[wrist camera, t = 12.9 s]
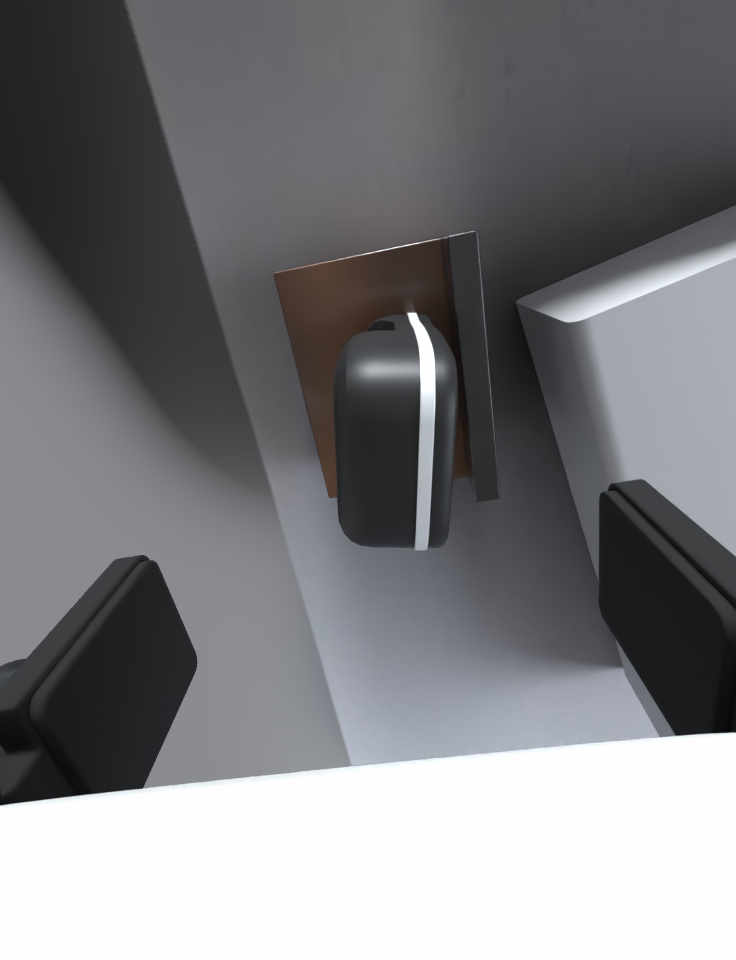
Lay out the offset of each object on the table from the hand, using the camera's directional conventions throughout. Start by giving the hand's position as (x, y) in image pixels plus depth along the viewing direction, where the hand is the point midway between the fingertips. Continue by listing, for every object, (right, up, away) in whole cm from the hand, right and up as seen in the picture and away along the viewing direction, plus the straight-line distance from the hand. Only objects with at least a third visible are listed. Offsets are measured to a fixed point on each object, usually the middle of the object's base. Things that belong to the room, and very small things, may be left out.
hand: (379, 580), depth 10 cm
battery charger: (+1, +7, +15) cm, 16 cm away
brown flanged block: (+1, +9, +19) cm, 21 cm away
